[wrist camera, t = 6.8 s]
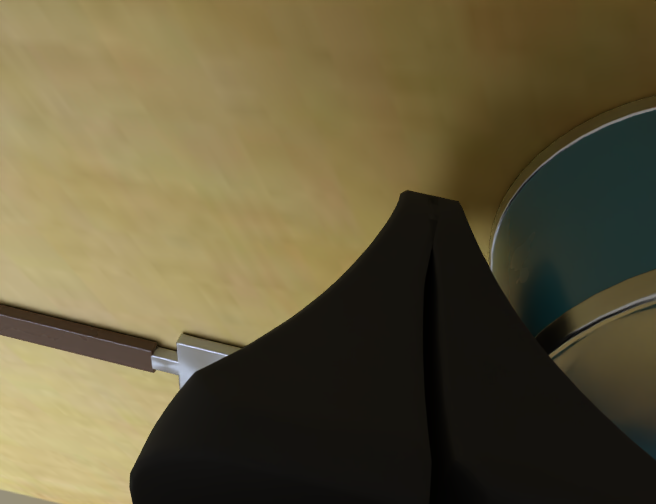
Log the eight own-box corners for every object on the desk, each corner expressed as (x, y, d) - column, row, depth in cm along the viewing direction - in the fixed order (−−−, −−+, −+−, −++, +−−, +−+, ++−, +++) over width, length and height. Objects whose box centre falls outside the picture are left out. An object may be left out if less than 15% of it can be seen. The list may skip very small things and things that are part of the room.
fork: (-94, 314, 19) (-103, 322, 19) (-122, 259, 18) (-132, 267, 17) (329, 419, 18) (327, 429, 18) (340, 371, 17) (337, 381, 16)
